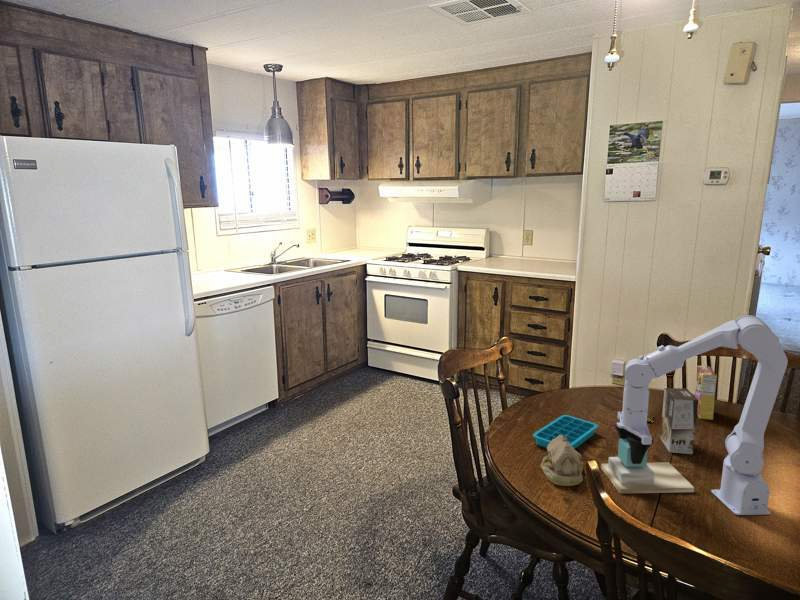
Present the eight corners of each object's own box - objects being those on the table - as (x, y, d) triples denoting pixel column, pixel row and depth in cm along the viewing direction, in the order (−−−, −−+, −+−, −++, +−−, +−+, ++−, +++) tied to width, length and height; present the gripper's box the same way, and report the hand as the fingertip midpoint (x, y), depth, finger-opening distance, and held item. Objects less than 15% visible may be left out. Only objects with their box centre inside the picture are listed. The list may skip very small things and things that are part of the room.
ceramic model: (537, 458, 141) (538, 424, 139) (578, 459, 140) (580, 425, 138) (546, 486, 127) (548, 449, 125) (592, 487, 126) (594, 451, 124)
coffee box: (693, 454, 140) (699, 400, 137) (668, 452, 142) (673, 399, 138) (682, 439, 149) (687, 388, 146) (659, 437, 150) (663, 386, 147)
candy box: (692, 407, 171) (696, 365, 168) (707, 409, 169) (711, 366, 166) (697, 418, 162) (702, 373, 159) (713, 420, 161) (718, 375, 158)
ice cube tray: (599, 434, 154) (599, 425, 154) (567, 458, 140) (567, 448, 140) (563, 422, 162) (564, 414, 162) (530, 444, 149) (530, 435, 148)
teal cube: (646, 466, 125) (647, 447, 124) (626, 466, 125) (627, 448, 124) (637, 456, 130) (638, 438, 129) (617, 456, 130) (619, 438, 129)
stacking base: (693, 492, 123) (695, 476, 122) (620, 493, 123) (621, 477, 122) (668, 466, 135) (669, 452, 134) (600, 467, 135) (601, 453, 134)
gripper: (607, 396, 132) (604, 443, 135) (632, 420, 118) (628, 473, 120) (634, 395, 132) (630, 443, 135) (662, 419, 118) (657, 472, 120)
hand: (631, 457), depth 128 cm, fingers closed on teal cube, 5 cm apart
